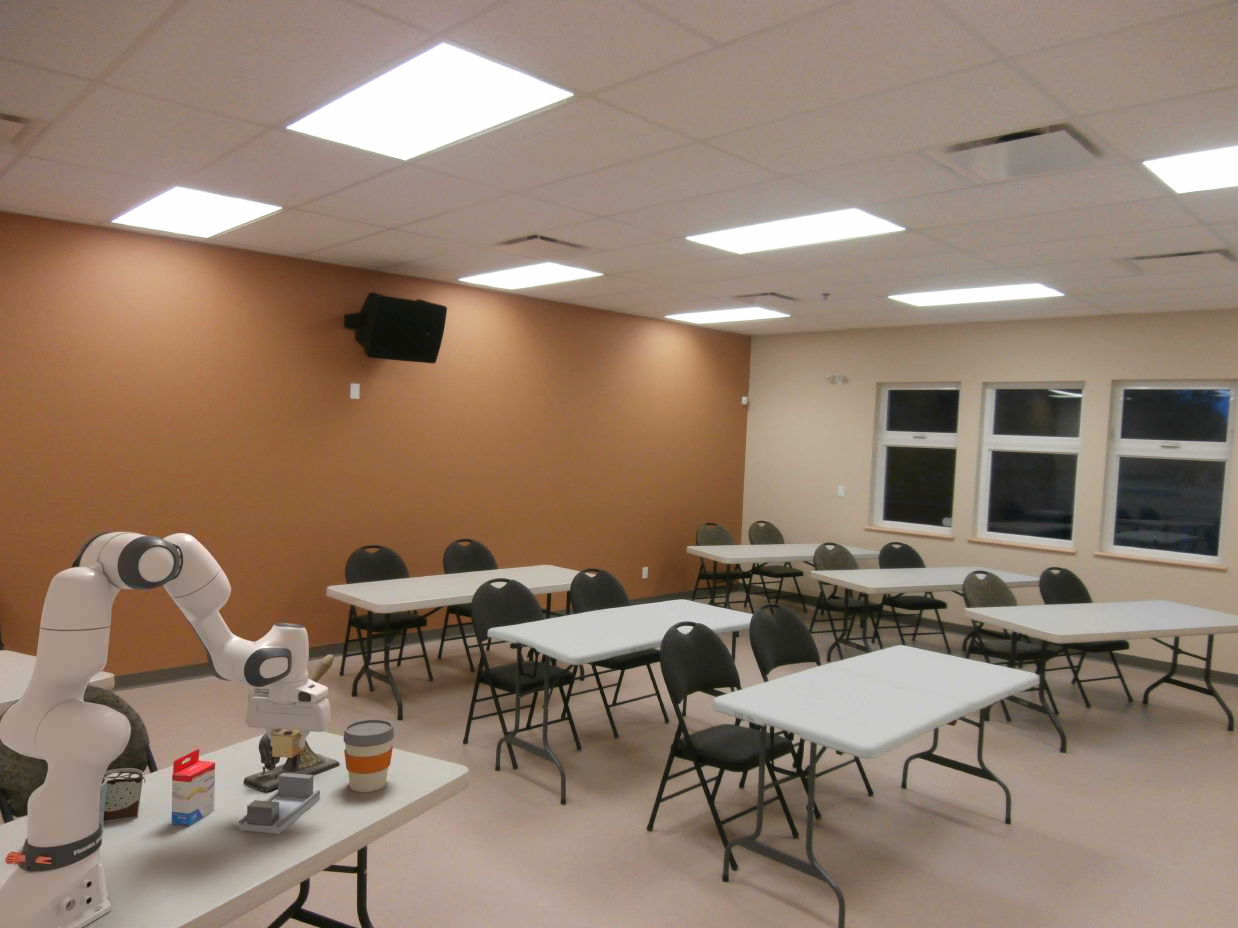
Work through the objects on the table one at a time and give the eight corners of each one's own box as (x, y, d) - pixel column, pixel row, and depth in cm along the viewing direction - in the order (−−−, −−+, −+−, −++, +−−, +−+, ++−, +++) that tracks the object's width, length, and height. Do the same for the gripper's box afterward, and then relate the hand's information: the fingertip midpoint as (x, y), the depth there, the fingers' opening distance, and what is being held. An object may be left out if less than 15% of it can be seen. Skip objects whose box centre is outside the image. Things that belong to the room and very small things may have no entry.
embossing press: (240, 783, 203) (242, 668, 202) (321, 755, 222) (323, 650, 222) (264, 794, 197) (266, 676, 196) (345, 765, 216) (347, 657, 215)
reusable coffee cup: (355, 772, 211) (356, 717, 210) (400, 775, 209) (401, 720, 209) (333, 793, 198) (334, 734, 198) (381, 796, 197) (382, 737, 197)
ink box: (189, 826, 179) (190, 763, 179) (170, 824, 180) (171, 760, 180) (215, 810, 188) (216, 749, 187) (197, 807, 189) (198, 747, 188)
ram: (271, 825, 177) (271, 807, 177) (246, 823, 178) (247, 805, 178) (281, 816, 181) (282, 799, 181) (257, 814, 182) (257, 797, 182)
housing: (303, 749, 191) (303, 728, 191) (292, 757, 186) (292, 736, 186) (283, 748, 192) (284, 727, 192) (272, 756, 187) (272, 734, 187)
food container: (149, 805, 189) (149, 764, 189) (144, 816, 184) (145, 774, 183) (89, 813, 185) (89, 771, 184) (82, 824, 179) (83, 781, 179)
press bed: (279, 833, 177) (280, 804, 177) (238, 829, 178) (239, 801, 178) (319, 798, 195) (320, 772, 195) (282, 795, 196) (282, 769, 196)
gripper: (240, 690, 187) (239, 748, 187) (321, 696, 184) (320, 754, 184) (255, 683, 193) (255, 738, 193) (334, 688, 190) (333, 744, 191)
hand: (287, 746), depth 189 cm, fingers closed on housing, 5 cm apart
